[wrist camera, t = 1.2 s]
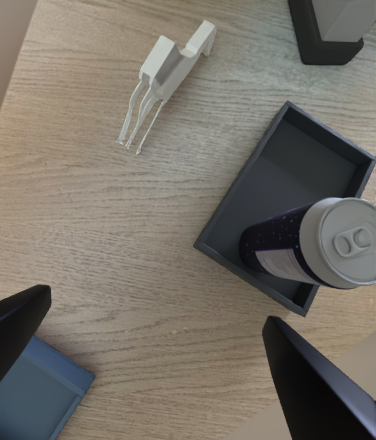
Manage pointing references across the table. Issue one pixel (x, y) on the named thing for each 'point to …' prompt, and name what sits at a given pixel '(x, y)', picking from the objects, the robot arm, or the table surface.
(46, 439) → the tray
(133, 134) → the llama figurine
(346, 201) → the beverage can
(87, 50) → the table surface
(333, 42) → the container
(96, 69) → the table surface
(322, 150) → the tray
